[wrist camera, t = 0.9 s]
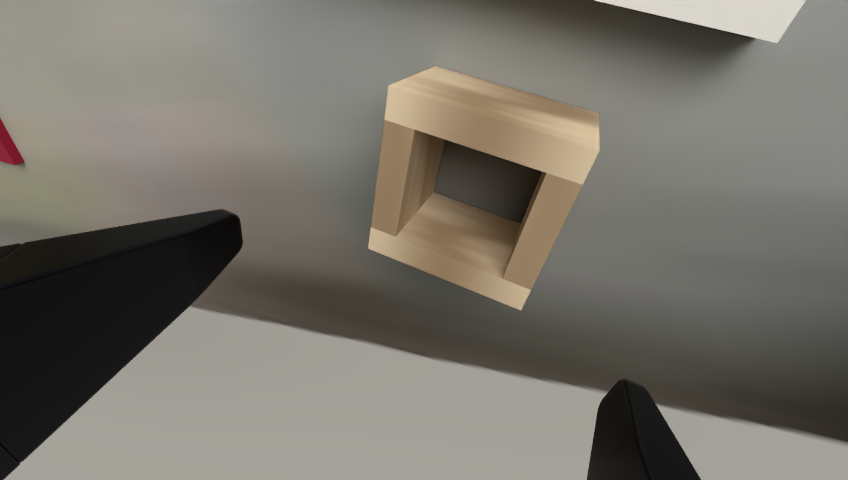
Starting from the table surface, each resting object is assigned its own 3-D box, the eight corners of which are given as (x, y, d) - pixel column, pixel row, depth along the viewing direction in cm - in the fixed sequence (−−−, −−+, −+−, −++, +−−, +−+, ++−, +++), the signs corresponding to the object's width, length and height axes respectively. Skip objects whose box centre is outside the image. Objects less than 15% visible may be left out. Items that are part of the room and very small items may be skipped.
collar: (598, 113, 13) (599, 150, 10) (535, 250, 16) (520, 310, 13) (435, 65, 14) (388, 85, 11) (409, 203, 17) (368, 248, 14)
